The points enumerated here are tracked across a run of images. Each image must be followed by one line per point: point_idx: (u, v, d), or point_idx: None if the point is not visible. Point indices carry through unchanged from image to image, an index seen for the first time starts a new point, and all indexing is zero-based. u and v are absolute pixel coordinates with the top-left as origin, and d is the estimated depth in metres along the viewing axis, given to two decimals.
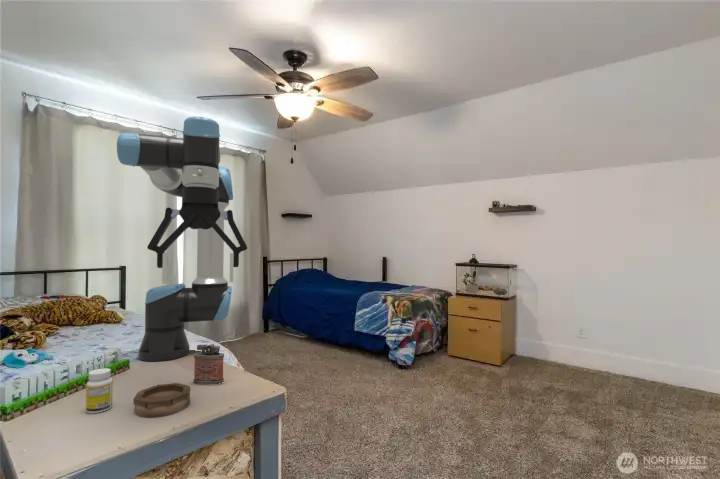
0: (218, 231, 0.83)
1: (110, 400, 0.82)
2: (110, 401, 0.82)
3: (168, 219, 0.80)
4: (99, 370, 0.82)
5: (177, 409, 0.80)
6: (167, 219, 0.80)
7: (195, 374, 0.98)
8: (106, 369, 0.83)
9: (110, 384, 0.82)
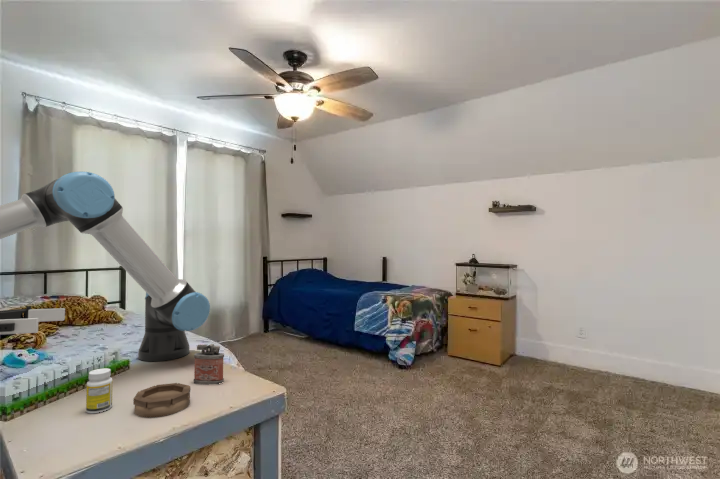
0: None
1: (110, 400, 0.82)
2: (110, 401, 0.82)
3: None
4: (99, 370, 0.82)
5: (177, 409, 0.80)
6: None
7: (195, 374, 0.98)
8: (106, 369, 0.83)
9: (110, 384, 0.82)
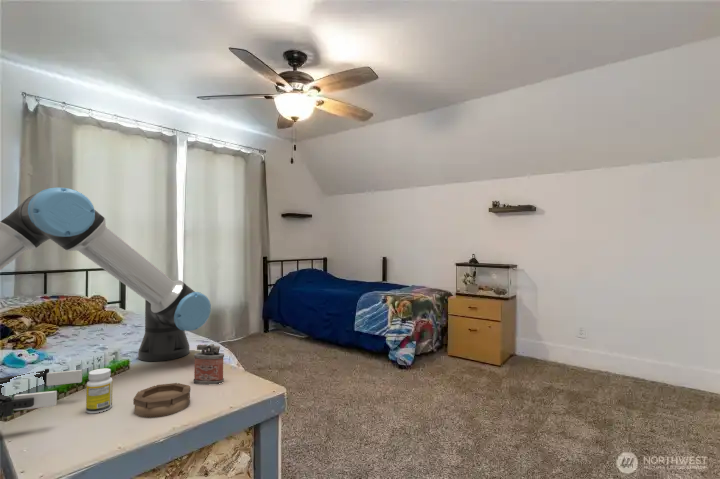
0: None
1: (110, 400, 0.82)
2: (110, 401, 0.82)
3: None
4: (99, 370, 0.82)
5: (177, 409, 0.80)
6: None
7: (195, 374, 0.98)
8: (106, 369, 0.83)
9: (110, 384, 0.82)
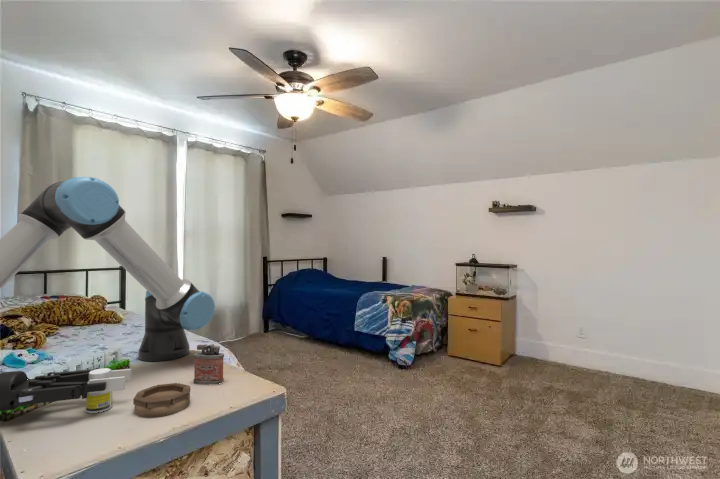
0: None
1: (110, 400, 0.82)
2: (110, 401, 0.82)
3: None
4: (99, 370, 0.82)
5: (177, 409, 0.80)
6: None
7: (195, 374, 0.98)
8: (106, 369, 0.83)
9: None
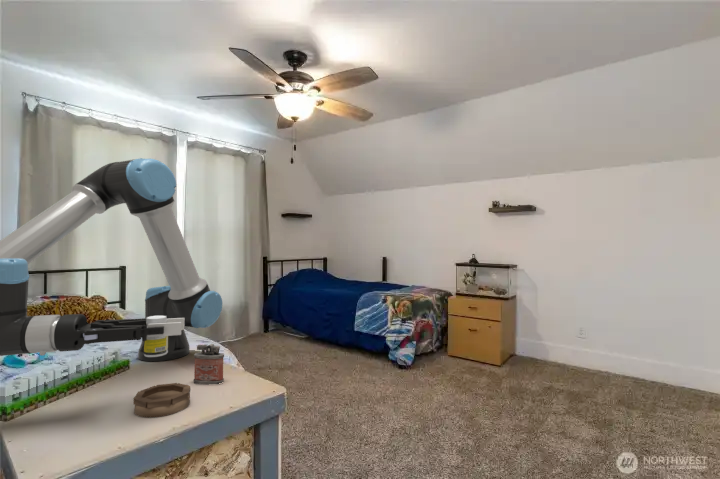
0: None
1: (166, 346, 0.83)
2: (166, 347, 0.83)
3: None
4: (156, 316, 0.84)
5: (177, 409, 0.80)
6: None
7: (195, 374, 0.98)
8: (162, 316, 0.84)
9: None
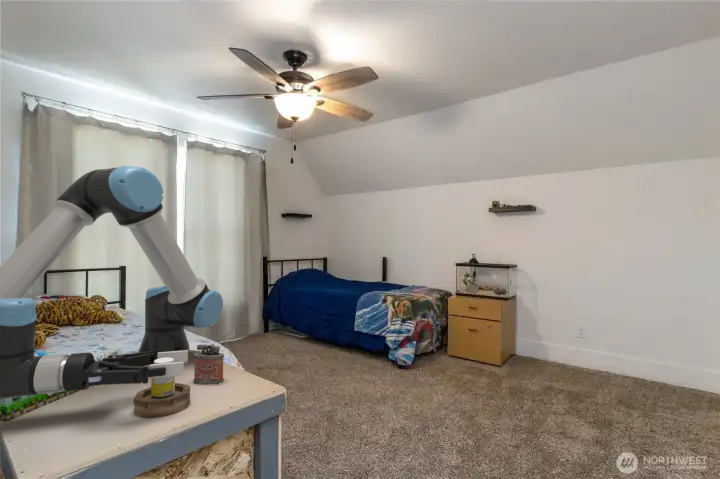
0: None
1: (173, 388, 0.83)
2: (173, 389, 0.83)
3: None
4: (163, 359, 0.84)
5: (177, 409, 0.80)
6: None
7: (195, 374, 0.98)
8: (169, 358, 0.84)
9: None
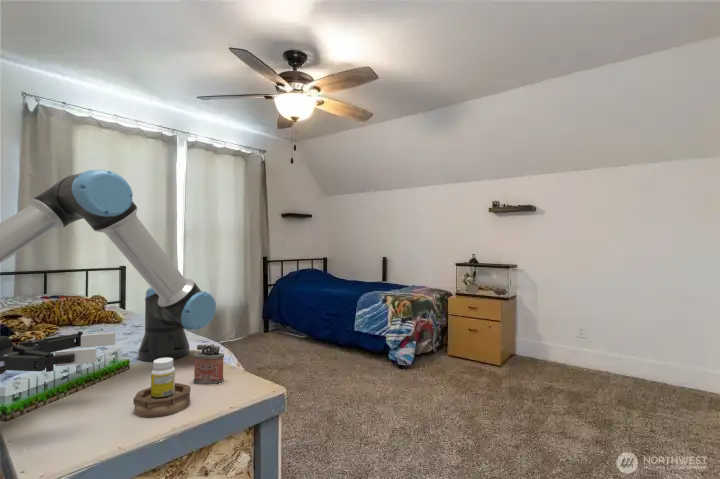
0: None
1: (173, 388, 0.83)
2: (173, 389, 0.83)
3: None
4: (162, 359, 0.84)
5: (177, 409, 0.80)
6: None
7: (195, 374, 0.98)
8: (168, 358, 0.84)
9: (173, 373, 0.83)
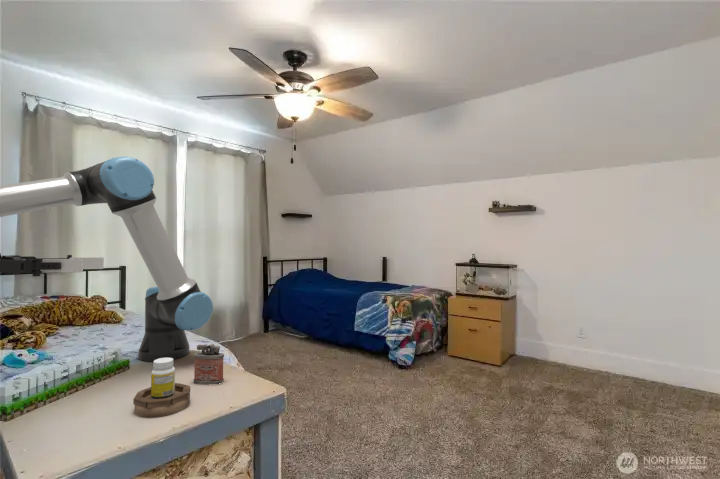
0: None
1: (173, 388, 0.83)
2: (173, 389, 0.84)
3: None
4: (162, 359, 0.84)
5: (177, 409, 0.80)
6: None
7: (195, 374, 0.98)
8: (169, 358, 0.85)
9: (173, 373, 0.83)
